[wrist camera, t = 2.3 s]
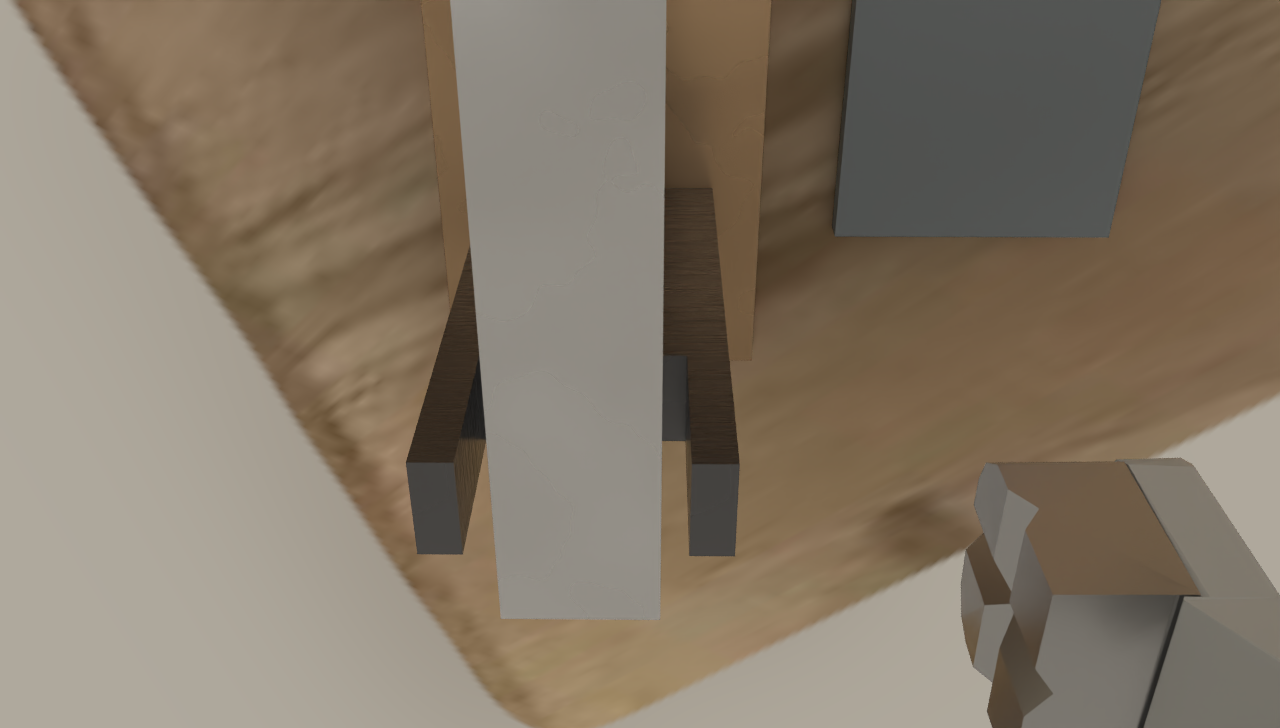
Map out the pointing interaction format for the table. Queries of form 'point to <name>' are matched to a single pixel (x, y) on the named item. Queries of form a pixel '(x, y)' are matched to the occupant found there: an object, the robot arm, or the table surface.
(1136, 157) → the table surface
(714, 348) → the rack
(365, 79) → the table surface
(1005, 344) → the table surface
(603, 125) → the rail
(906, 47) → the mat
